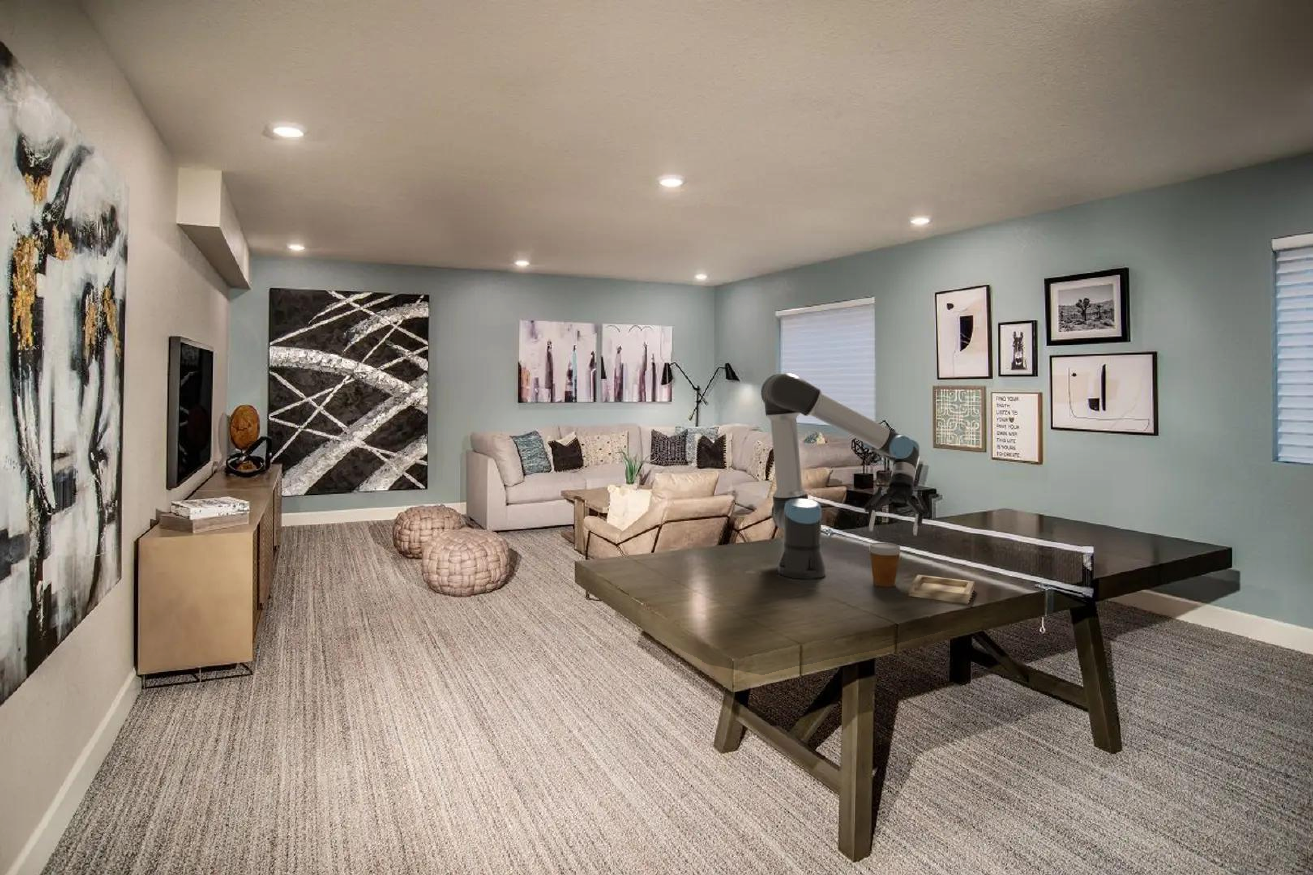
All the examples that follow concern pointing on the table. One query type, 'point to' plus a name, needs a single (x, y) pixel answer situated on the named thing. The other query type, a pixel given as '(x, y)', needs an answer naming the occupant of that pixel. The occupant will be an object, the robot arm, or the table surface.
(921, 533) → the table surface
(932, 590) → the tray
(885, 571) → the disposable coffee cup
